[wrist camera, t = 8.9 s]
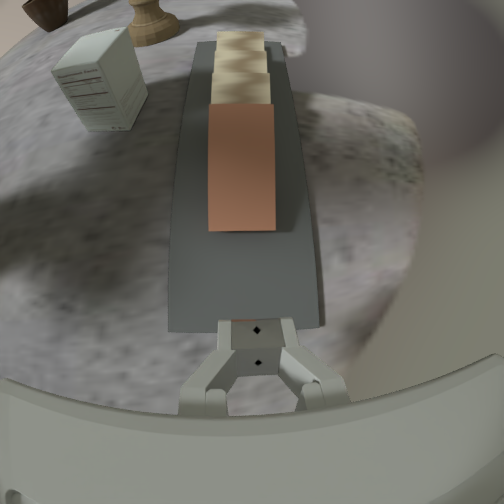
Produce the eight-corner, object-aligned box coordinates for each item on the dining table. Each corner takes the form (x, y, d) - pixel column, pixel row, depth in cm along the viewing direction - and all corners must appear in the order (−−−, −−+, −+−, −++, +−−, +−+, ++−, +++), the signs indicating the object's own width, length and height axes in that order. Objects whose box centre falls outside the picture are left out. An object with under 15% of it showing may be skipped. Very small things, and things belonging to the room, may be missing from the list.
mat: (170, 331, 24) (168, 332, 23) (197, 45, 35) (197, 42, 35) (317, 327, 25) (319, 327, 24) (280, 45, 36) (280, 42, 36)
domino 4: (208, 231, 24) (209, 104, 22) (210, 229, 26) (210, 111, 24) (275, 230, 25) (273, 104, 23) (272, 228, 27) (270, 111, 25)
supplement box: (108, 96, 32) (81, 35, 19) (150, 94, 32) (129, 24, 20) (86, 133, 30) (48, 71, 18) (130, 132, 30) (97, 59, 18)
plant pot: (31, 46, 39) (14, 12, 24) (44, 27, 43) (31, -3, 27) (71, 24, 41) (57, -14, 25) (82, 9, 44) (71, -25, 29)
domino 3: (209, 181, 25) (212, 72, 24) (211, 183, 27) (213, 80, 26) (272, 180, 26) (269, 73, 24) (269, 182, 28) (267, 81, 26)
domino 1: (213, 107, 28) (217, 31, 26) (215, 112, 30) (218, 39, 28) (265, 107, 28) (263, 32, 27) (264, 112, 30) (262, 39, 29)
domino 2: (211, 141, 27) (215, 50, 25) (213, 146, 29) (215, 58, 27) (269, 141, 27) (266, 51, 25) (266, 145, 29) (264, 59, 27)
